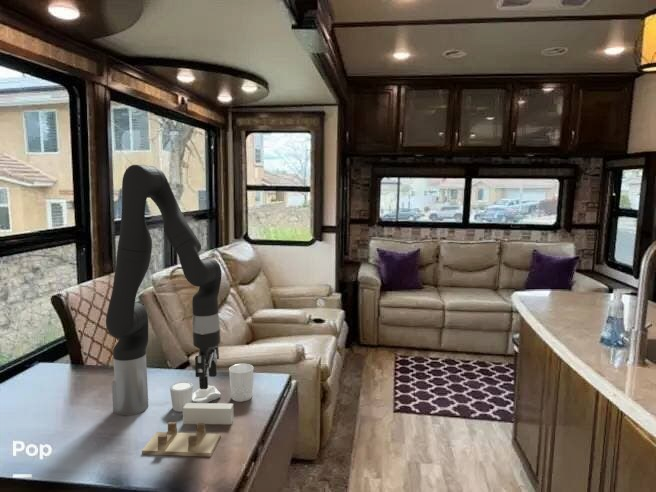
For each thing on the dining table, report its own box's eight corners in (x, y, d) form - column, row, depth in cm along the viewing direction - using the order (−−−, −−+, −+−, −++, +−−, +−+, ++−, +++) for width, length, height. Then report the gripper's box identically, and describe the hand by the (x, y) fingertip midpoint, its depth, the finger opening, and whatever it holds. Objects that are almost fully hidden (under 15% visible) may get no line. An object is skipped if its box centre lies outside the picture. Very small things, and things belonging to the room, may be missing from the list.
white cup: (231, 392, 153) (230, 363, 152) (254, 391, 153) (254, 363, 152) (228, 403, 145) (227, 373, 144) (252, 402, 146) (252, 372, 144)
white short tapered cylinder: (198, 404, 144) (197, 383, 143) (184, 414, 138) (183, 392, 137) (179, 400, 146) (179, 379, 146) (165, 410, 140) (165, 388, 139)
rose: (216, 392, 143) (185, 392, 143) (216, 406, 143) (186, 405, 144) (224, 379, 153) (195, 379, 153) (224, 392, 153) (196, 391, 154)
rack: (142, 454, 117) (141, 437, 116) (156, 435, 126) (156, 419, 125) (210, 456, 116) (210, 440, 115) (220, 437, 125) (220, 422, 124)
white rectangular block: (183, 424, 132) (182, 408, 132) (186, 418, 135) (186, 403, 135) (231, 425, 132) (230, 408, 131) (233, 419, 135) (233, 403, 135)
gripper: (201, 321, 137) (203, 372, 139) (184, 336, 123) (187, 393, 125) (225, 321, 137) (227, 372, 139) (211, 336, 123) (214, 393, 125)
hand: (208, 382), depth 132 cm, fingers open, 8 cm apart
